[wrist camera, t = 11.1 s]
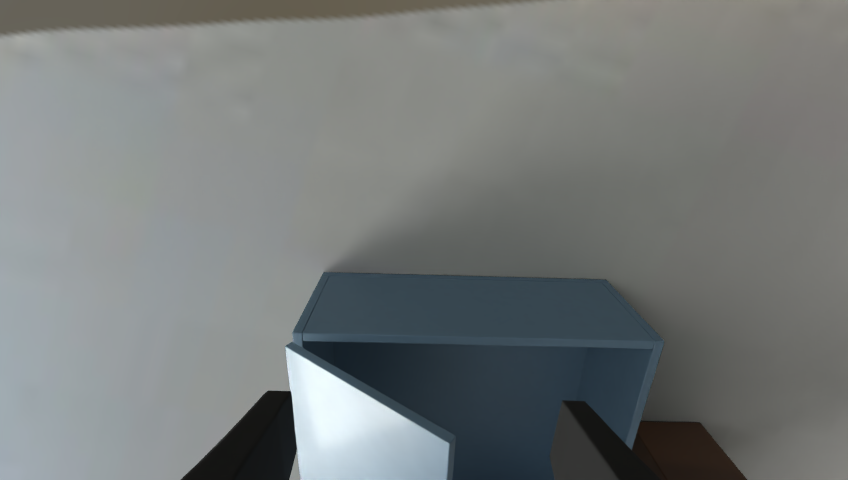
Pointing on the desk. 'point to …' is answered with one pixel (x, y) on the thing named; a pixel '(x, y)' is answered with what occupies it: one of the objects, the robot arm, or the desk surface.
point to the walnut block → (683, 452)
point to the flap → (359, 428)
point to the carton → (488, 357)
